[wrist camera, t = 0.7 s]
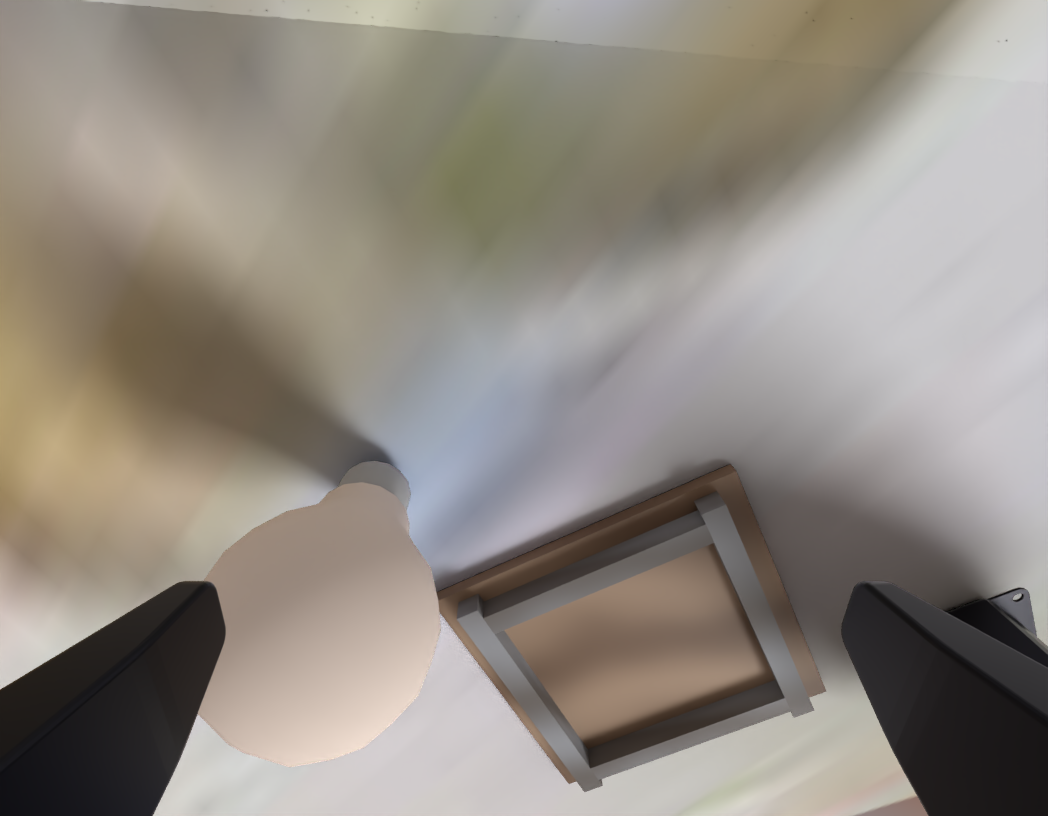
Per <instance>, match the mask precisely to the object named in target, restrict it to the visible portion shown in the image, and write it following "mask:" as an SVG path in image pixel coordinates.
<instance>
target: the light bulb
mask: <svg viewBox="0 0 1048 816" xmlns="http://www.w3.org/2000/svg"><path fill="white" fill-rule="evenodd" d="M410 495H411V492H410V488H409V483H408V481H407V479H406V478H405V477H404V475H403V474H402V473H401V471H399V470H398V469H396V468H395V467H393V466H392V465H390V464H387V463H383V462H379V461H368V462H361V463H359V464H358V465H356V466H354V467H352V468H350V469H349V470H348V472H347V473H346V474H345V475H344V477H343V478H342V480H341V482H340V483H339V485H338V487H337V488H336V489H334V490H332V491H330V492H329V493H328V494H327V495H326V496H325V497H324V498H323V499H322V501H321V502H320V503H319V504H316V505H312V506H308V507H303V508H299V509H294V510H290V511H286V512H284V513H283V514H281V515H279V516H277V517H275V518H273V519H271V520H269V521H267V522H265V523H263V524H261V525H260V526H258V527H256V528H254V529H252V530H251V531H250V532H249V533H247V534H246V535H245V536H243V537H242V538H241V539H240V540H238V541H237V542H236V543H235V544H233V545H232V546H231V547H230V548H228V549H227V550H226V551H225V552H224V553H223V554H222V555H221V557H220V558H219V560H218V561H217V562H216V564H215V565H214V567H213V568H212V570H211V571H210V572H209V574H208V575H207V577H206V578H205V579H204V581H209V582H211V583H213V584H214V585H215V587H216V589H217V592H218V597H219V601H220V605H221V609H222V613H223V617H224V621H225V626H226V636H225V642H224V645H223V648H222V651H221V653H220V656H219V659H218V661H217V664H216V667H215V669H214V672H213V675H212V677H211V680H210V682H209V685H208V688H207V690H206V693H205V696H204V698H203V701H202V704H201V706H200V709H199V711H198V715H199V716H200V717H201V718H202V719H203V720H204V721H205V722H206V723H207V724H208V725H209V726H210V727H211V728H212V729H213V730H214V731H215V732H216V733H217V734H218V735H219V736H220V737H221V738H222V739H223V740H224V741H225V742H226V743H227V744H228V745H230V746H232V747H234V748H236V749H237V750H239V751H241V752H243V753H246V754H249V755H252V756H255V757H258V758H262V759H265V760H268V761H271V762H274V763H277V764H281V765H284V766H287V767H294V766H300V765H305V764H311V763H317V762H322V761H328V760H332V759H335V758H337V757H340V756H343V755H346V754H348V753H351V752H354V751H356V750H359V749H362V748H364V747H365V746H366V745H367V744H369V743H370V742H371V741H372V740H373V739H375V738H376V737H377V736H378V735H379V734H380V733H382V732H383V731H384V730H385V729H386V728H387V727H389V726H390V725H391V724H392V723H393V722H394V721H395V720H396V719H397V718H398V717H399V716H400V715H401V714H402V712H403V711H404V710H405V709H406V708H407V707H408V706H409V705H410V704H411V703H412V702H413V701H414V700H415V699H416V698H417V697H418V695H419V693H420V690H421V687H422V685H423V682H424V680H425V677H426V675H427V672H428V670H429V667H430V665H431V662H432V659H433V655H434V652H435V649H436V645H437V642H438V638H439V635H440V631H441V625H440V614H439V603H438V597H437V593H436V588H435V584H434V579H433V575H432V570H431V567H430V566H429V565H428V563H427V562H426V560H425V559H424V558H423V556H422V555H421V553H420V552H419V550H418V549H417V548H416V546H415V545H414V543H413V541H412V540H411V538H410V536H409V520H408V516H407V507H408V504H409V499H410Z"/></svg>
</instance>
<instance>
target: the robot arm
mask: <svg viewBox="0 0 1048 816" xmlns="http://www.w3.org/2000/svg"><path fill="white" fill-rule="evenodd" d="M1019 593H1021V594H1023V595H1022V597H1021V599H1019V600H1017V601H1013V597H1014V596H1015V595H1016V594H1019ZM841 632H842V638H843V642H844V644H845V647H846V649H847V651H848V653H849V656H850V658H851V660H852V662H853V665H854V667H855V669H856V671H857V673H858V676H859V678H860V680H861V682H862V685H863V687H864V689H865V691H866V694H867V696H868V698H869V700H870V702H871V705H872V707H873V709H874V711H875V714H876V716H877V718H878V720H879V723H880V725H881V727H882V729H883V731H884V734H885V736H886V738H887V740H888V742H889V744H890V746H891V748H892V750H893V752H894V754H895V756H896V758H897V760H898V762H899V764H900V765H901V767H902V769H903V771H904V773H905V775H906V776H907V778H908V780H909V782H910V784H911V785H912V787H913V789H914V791H915V793H916V794H917V796H918V798H919V800H920V802H921V803H922V805H923V807H924V809H925V810H926V812H927V814H928V816H1048V646H1047V645H1045V644H1044V643H1043V642H1042V641H1041V640H1040V639H1039V638H1037V635H1036V629H1035V623H1034V618H1033V612H1032V606H1031V601H1030V595H1029V592H1028V591H1027V590H1026V589H1024V588H1018V589H1015V590H1012V591H1009V592H1006V593H1004V594H1001V595H998V596H996V597H993V598H990V599H980V600H977V601H975V602H972V603H969V604H967V605H964V606H961V607H958V608H956V609H953V610H950V611H948V612H944V611H943V610H941V609H939V608H937V607H935V606H933V605H932V604H930V603H928V602H926V601H924V600H922V599H920V598H919V597H917V596H915V595H913V594H911V593H909V592H908V591H906V590H904V589H902V588H900V587H898V586H897V585H895V584H893V583H890V582H885V581H863V582H860V583H858V584H857V585H856V586H855V587H854V589H853V592H852V595H851V598H850V601H849V604H848V607H847V610H846V613H845V616H844V619H843V622H842V628H841ZM225 636H226V626H225V621H224V617H223V613H222V609H221V605H220V601H219V597H218V592H217V589H216V587H215V585H214V584H213V583H211V582H209V581H183V582H179V583H177V584H175V585H173V586H171V587H170V588H168V589H166V590H165V591H163V592H161V593H160V594H158V595H156V596H155V597H153V598H151V599H150V600H148V601H146V602H145V603H143V604H141V605H140V606H138V607H136V608H135V609H133V610H131V611H130V612H128V613H127V614H125V615H123V616H122V617H120V618H118V619H117V620H115V621H113V622H112V623H110V624H108V625H107V626H105V627H103V628H102V629H100V630H98V631H97V632H95V633H93V634H92V635H90V636H88V637H87V638H85V639H83V640H82V641H80V642H78V643H77V644H75V645H73V646H72V647H70V648H69V649H67V650H65V651H64V652H62V653H60V654H59V655H57V656H55V657H54V658H52V659H50V660H49V661H47V662H45V663H44V664H42V665H40V666H39V667H37V668H35V669H34V670H32V671H30V672H29V673H27V674H25V675H24V676H22V677H20V678H19V679H17V680H15V681H14V682H12V683H10V684H9V685H7V686H6V687H4V688H2V689H1V690H0V816H153V814H154V812H155V810H156V808H157V806H158V804H159V802H160V800H161V798H162V796H163V794H164V792H165V790H166V787H167V785H168V783H169V781H170V779H171V777H172V775H173V773H174V771H175V769H176V766H177V764H178V762H179V760H180V758H181V755H182V753H183V750H184V748H185V745H186V743H187V740H188V738H189V735H190V733H191V730H192V727H193V725H194V722H195V719H196V717H197V714H198V711H199V709H200V706H201V704H202V701H203V698H204V696H205V693H206V690H207V688H208V685H209V682H210V680H211V677H212V675H213V672H214V669H215V667H216V664H217V661H218V659H219V656H220V653H221V651H222V648H223V645H224V642H225Z"/></svg>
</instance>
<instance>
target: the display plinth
mask: <svg viewBox="0 0 1048 816" xmlns="http://www.w3.org/2000/svg"><path fill="white" fill-rule="evenodd" d="M436 593H437V597H438V603H439V612H440V613H441V614H442V616H443V617H444V618H445V620H446V621H447V622H448V624H449V625H450V626H451V628H452V629H453V630H454V632H455V633H456V634H457V636H458V637H459V638H460V640H461V641H462V642H463V644H464V645H465V646H466V648H467V649H468V650H469V652H470V653H471V654H472V656H473V657H474V658H475V660H476V661H477V662H478V664H479V665H480V666H481V668H482V669H483V670H484V672H485V673H486V674H487V676H488V677H489V678H490V680H491V681H492V682H493V684H494V685H495V686H496V688H497V689H498V690H499V692H500V693H501V694H502V696H503V697H504V698H505V700H506V701H507V702H508V704H509V705H510V706H511V708H512V709H513V710H514V712H515V713H516V714H517V716H518V717H519V718H520V720H521V721H522V722H523V724H524V725H525V726H526V727H527V729H528V730H529V731H530V733H531V734H532V735H533V737H534V738H535V739H536V741H537V742H538V743H539V745H540V746H541V747H542V749H543V750H544V751H545V753H546V754H547V755H548V757H549V758H550V759H551V761H552V762H553V763H554V765H555V766H556V767H557V769H558V770H559V771H560V773H561V774H562V775H563V777H564V778H565V779H566V781H567V782H568V783H569V784H570V783H573V782H576V781H577V782H578V784H579V785H580V786H581V788H582V789H583V791H584V792H586V791H589V790H592V789H595V788H597V787H600V786H603V785H602V779H603V778H606V777H608V776H611V775H614V774H617V773H620V772H622V771H625V770H628V769H631V768H634V767H636V766H639V765H642V764H645V763H648V762H650V761H653V760H656V759H659V758H662V757H664V756H667V755H670V754H673V753H676V752H678V751H681V750H684V749H687V748H689V747H692V746H695V745H698V744H701V743H703V742H706V741H709V740H712V739H715V738H717V737H720V736H723V735H726V734H729V733H731V732H734V731H737V730H740V729H743V728H745V727H748V726H751V725H754V724H757V723H759V722H762V721H765V720H768V719H771V718H773V717H776V716H779V715H782V714H784V713H787V712H790V711H791V713H792V715H793V717H797V716H800V715H803V714H805V713H808V712H811V711H814V708H813V706H812V704H811V702H810V699H809V697H812V696H815V695H817V694H820V693H823V692H826V689H825V687H824V685H823V682H822V680H821V677H820V675H819V672H818V670H817V667H816V665H815V663H814V660H813V658H812V655H811V653H810V650H809V648H808V645H807V643H806V641H805V638H804V636H803V633H802V631H801V628H800V626H799V623H798V621H797V618H796V616H795V614H794V611H793V609H792V606H791V604H790V601H789V599H788V596H787V594H786V592H785V589H784V587H783V584H782V582H781V579H780V577H779V574H778V572H777V569H776V567H775V565H774V562H773V560H772V557H771V555H770V552H769V550H768V547H767V545H766V543H765V540H764V538H763V535H762V533H761V530H760V528H759V525H758V523H757V520H756V518H755V516H754V513H753V511H752V508H751V506H750V503H749V501H748V498H747V496H746V494H745V491H744V489H743V486H742V484H741V481H740V479H739V476H738V474H737V472H736V470H735V469H734V468H733V466H732V465H731V464H729V465H727V466H725V467H723V468H720V469H718V470H716V471H713V472H711V473H709V474H706V475H704V476H702V477H700V478H697V479H695V480H693V481H690V482H688V483H686V484H684V485H681V486H679V487H677V488H674V489H672V490H670V491H668V492H665V493H663V494H661V495H658V496H656V497H654V498H652V499H649V500H647V501H645V502H642V503H640V504H638V505H636V506H633V507H631V508H629V509H626V510H624V511H622V512H620V513H617V514H615V515H613V516H610V517H608V518H606V519H604V520H601V521H599V522H597V523H594V524H592V525H590V526H588V527H585V528H583V529H581V530H578V531H576V532H574V533H571V534H569V535H567V536H565V537H562V538H560V539H558V540H555V541H553V542H551V543H549V544H546V545H544V546H542V547H539V548H537V549H535V550H533V551H530V552H528V553H526V554H523V555H521V556H519V557H517V558H514V559H512V560H510V561H507V562H505V563H503V564H501V565H498V566H496V567H494V568H491V569H489V570H487V571H485V572H482V573H480V574H478V575H475V576H473V577H471V578H469V579H466V580H464V581H462V582H459V583H457V584H455V585H452V586H450V587H448V588H446V589H443V590H441V591H439V592H436Z"/></svg>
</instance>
